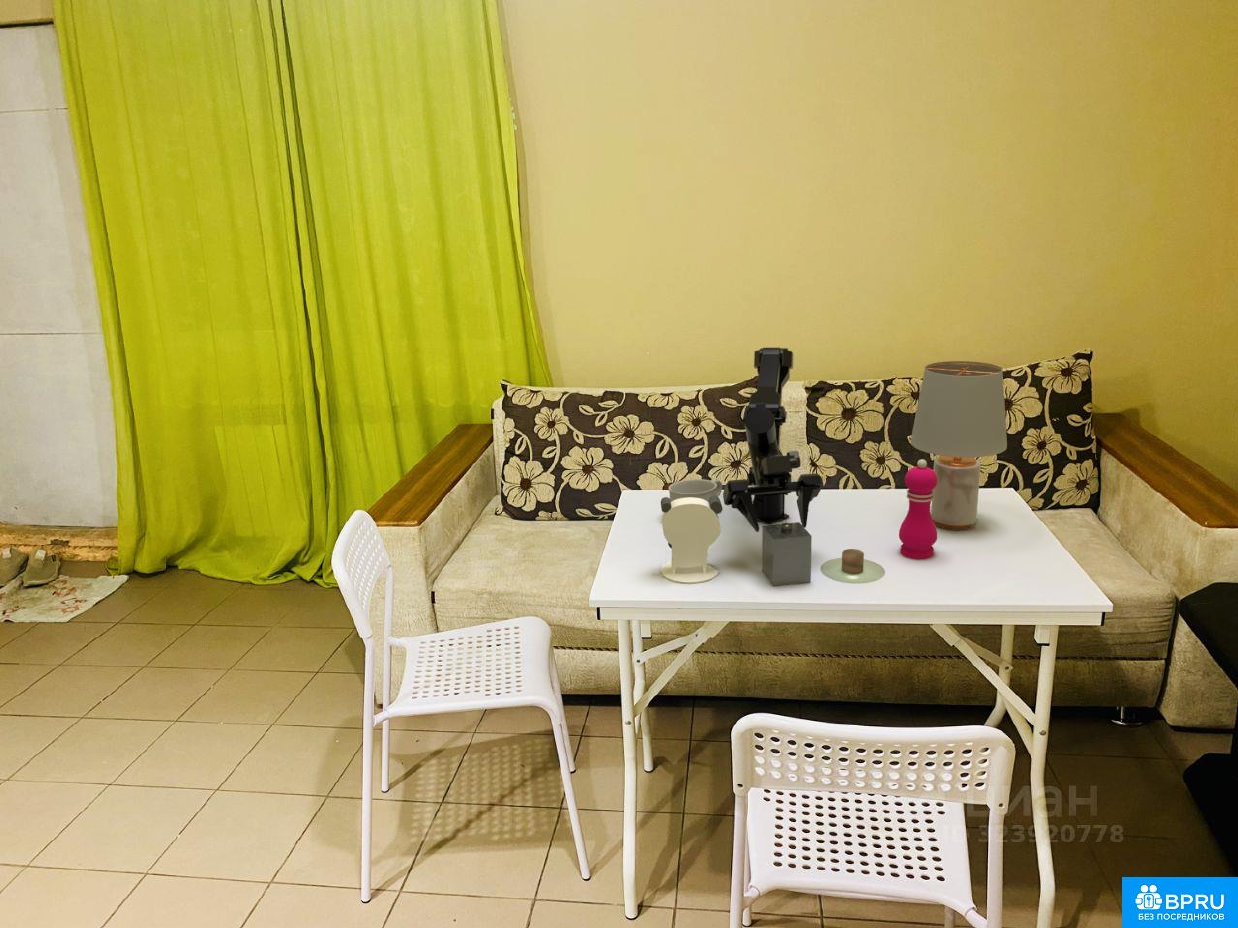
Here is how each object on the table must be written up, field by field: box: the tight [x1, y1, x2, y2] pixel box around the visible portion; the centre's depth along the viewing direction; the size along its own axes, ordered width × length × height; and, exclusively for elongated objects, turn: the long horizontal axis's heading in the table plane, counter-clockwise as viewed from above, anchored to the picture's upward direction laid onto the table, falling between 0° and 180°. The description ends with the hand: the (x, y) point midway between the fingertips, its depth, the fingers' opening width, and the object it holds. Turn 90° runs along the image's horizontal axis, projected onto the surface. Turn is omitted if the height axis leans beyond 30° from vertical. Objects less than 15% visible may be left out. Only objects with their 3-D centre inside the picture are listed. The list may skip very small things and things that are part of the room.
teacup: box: [668, 478, 723, 502], centre depth 209 cm, size 14×11×8 cm
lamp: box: [910, 360, 1008, 531], centre depth 194 cm, size 19×19×34 cm
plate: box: [819, 557, 886, 585], centre depth 178 cm, size 12×12×1 cm
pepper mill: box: [898, 459, 938, 560], centre depth 181 cm, size 7×7×20 cm
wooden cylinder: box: [841, 548, 865, 574], centre depth 177 cm, size 4×4×4 cm
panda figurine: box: [660, 495, 723, 585], centre depth 179 cm, size 12×11×15 cm
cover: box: [761, 521, 812, 588], centre depth 174 cm, size 7×7×11 cm
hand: (781, 529), depth 176 cm, fingers open, 9 cm apart
